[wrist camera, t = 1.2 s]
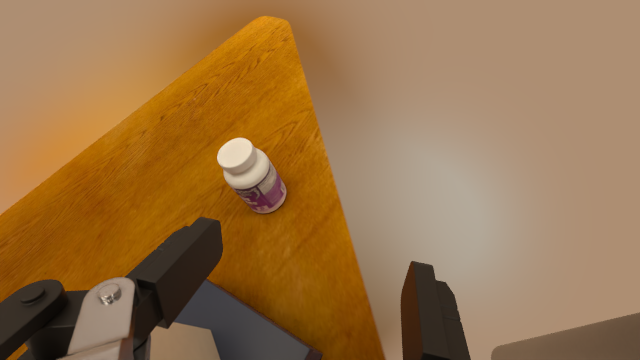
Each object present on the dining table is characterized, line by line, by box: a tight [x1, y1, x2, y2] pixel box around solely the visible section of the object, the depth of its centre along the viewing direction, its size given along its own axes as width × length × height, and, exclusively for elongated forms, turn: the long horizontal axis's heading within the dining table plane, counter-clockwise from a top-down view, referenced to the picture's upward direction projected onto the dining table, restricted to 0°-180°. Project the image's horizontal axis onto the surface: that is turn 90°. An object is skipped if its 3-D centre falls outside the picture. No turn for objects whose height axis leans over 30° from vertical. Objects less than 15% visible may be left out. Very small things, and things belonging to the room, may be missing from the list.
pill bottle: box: [217, 138, 286, 213], centre depth 33 cm, size 5×5×10 cm
